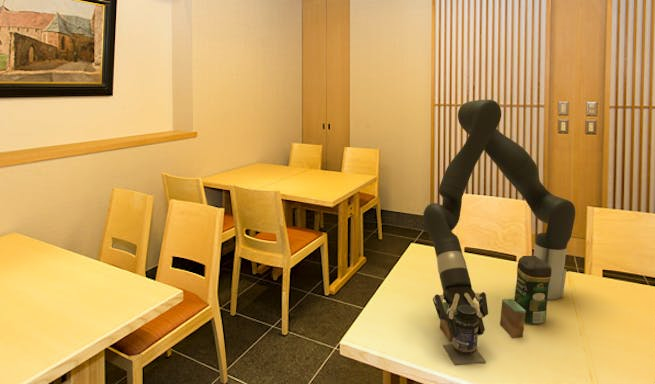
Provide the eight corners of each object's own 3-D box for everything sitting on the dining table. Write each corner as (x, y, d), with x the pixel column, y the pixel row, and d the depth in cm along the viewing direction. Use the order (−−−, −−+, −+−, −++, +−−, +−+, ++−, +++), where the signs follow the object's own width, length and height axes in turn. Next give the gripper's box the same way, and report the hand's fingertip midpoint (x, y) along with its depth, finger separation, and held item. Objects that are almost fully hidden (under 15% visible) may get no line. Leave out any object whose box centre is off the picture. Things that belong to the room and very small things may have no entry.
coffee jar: (508, 309, 133) (514, 253, 129) (533, 309, 133) (540, 253, 129) (522, 326, 124) (529, 265, 120) (549, 326, 124) (557, 265, 120)
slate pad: (471, 344, 115) (471, 342, 115) (485, 363, 107) (485, 361, 107) (442, 346, 114) (442, 344, 114) (454, 365, 106) (454, 363, 106)
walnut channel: (509, 323, 125) (512, 298, 123) (522, 337, 118) (525, 310, 116) (439, 327, 123) (441, 302, 121) (449, 341, 116) (451, 314, 114)
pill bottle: (477, 356, 107) (481, 316, 104) (452, 353, 108) (455, 314, 105) (474, 342, 112) (478, 304, 110) (450, 340, 114) (453, 302, 111)
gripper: (431, 267, 112) (445, 333, 103) (484, 265, 114) (501, 329, 105) (423, 277, 118) (435, 340, 110) (473, 275, 120) (489, 337, 111)
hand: (468, 334), depth 107 cm, fingers closed on pill bottle, 6 cm apart
